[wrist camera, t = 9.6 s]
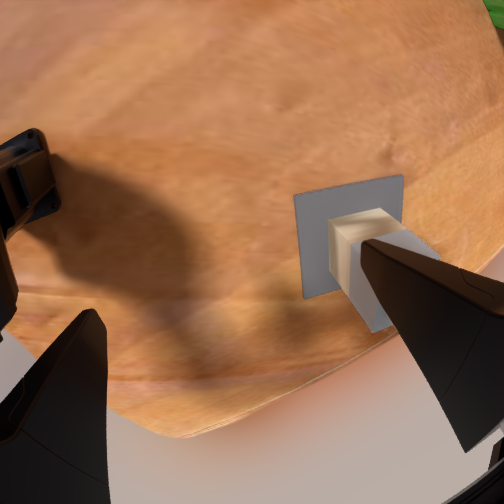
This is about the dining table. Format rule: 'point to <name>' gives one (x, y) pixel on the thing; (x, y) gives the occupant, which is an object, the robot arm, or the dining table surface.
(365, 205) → the mat
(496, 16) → the fruit basket
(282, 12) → the dining table surface
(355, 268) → the top block
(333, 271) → the bottom block
